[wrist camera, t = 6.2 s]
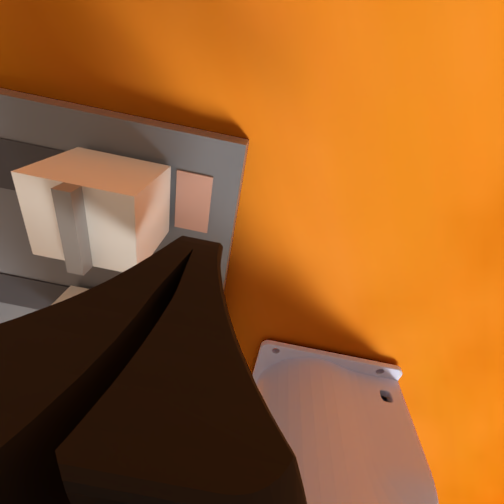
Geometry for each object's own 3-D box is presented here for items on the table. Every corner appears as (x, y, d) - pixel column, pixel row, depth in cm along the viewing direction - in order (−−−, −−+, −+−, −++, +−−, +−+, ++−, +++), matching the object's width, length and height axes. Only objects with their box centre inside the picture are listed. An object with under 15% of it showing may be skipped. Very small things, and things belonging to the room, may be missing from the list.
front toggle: (170, 165, 12) (125, 203, 9) (169, 231, 14) (130, 284, 11) (78, 146, 12) (-5, 177, 9) (87, 214, 14) (20, 263, 11)
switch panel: (249, 139, 13) (245, 145, 12) (212, 364, 22) (208, 380, 20) (-156, 55, 13) (-197, 54, 12) (-32, 316, 21) (-49, 330, 20)
